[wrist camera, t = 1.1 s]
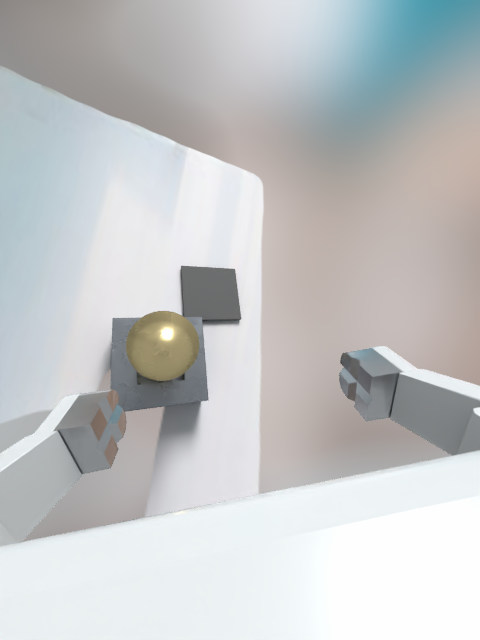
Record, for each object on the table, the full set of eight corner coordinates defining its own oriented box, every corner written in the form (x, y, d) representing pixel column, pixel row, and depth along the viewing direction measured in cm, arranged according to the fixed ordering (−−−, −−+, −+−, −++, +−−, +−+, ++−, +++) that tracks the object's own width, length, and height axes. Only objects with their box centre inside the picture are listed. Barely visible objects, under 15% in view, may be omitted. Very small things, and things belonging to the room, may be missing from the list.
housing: (115, 411, 33) (109, 413, 29) (117, 328, 37) (112, 318, 32) (201, 400, 37) (208, 400, 33) (196, 326, 41) (201, 317, 36)
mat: (184, 320, 40) (184, 319, 40) (181, 267, 43) (181, 265, 42) (239, 319, 44) (241, 318, 43) (233, 270, 47) (234, 269, 46)
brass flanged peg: (135, 389, 33) (125, 383, 21) (135, 341, 35) (126, 311, 23) (185, 384, 35) (201, 376, 24) (183, 339, 37) (196, 310, 25)
